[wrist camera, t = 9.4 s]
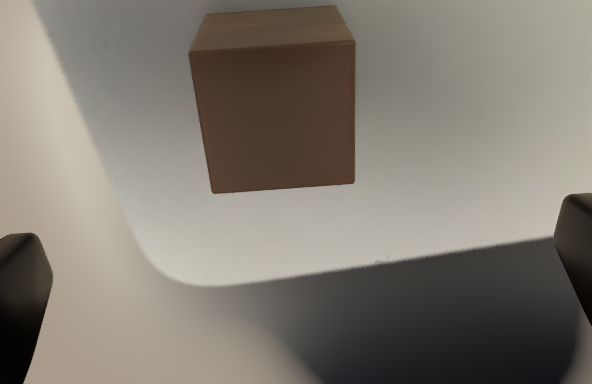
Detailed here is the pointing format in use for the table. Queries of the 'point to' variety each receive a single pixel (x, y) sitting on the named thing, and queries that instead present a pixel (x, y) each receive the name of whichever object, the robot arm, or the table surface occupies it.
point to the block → (276, 98)
